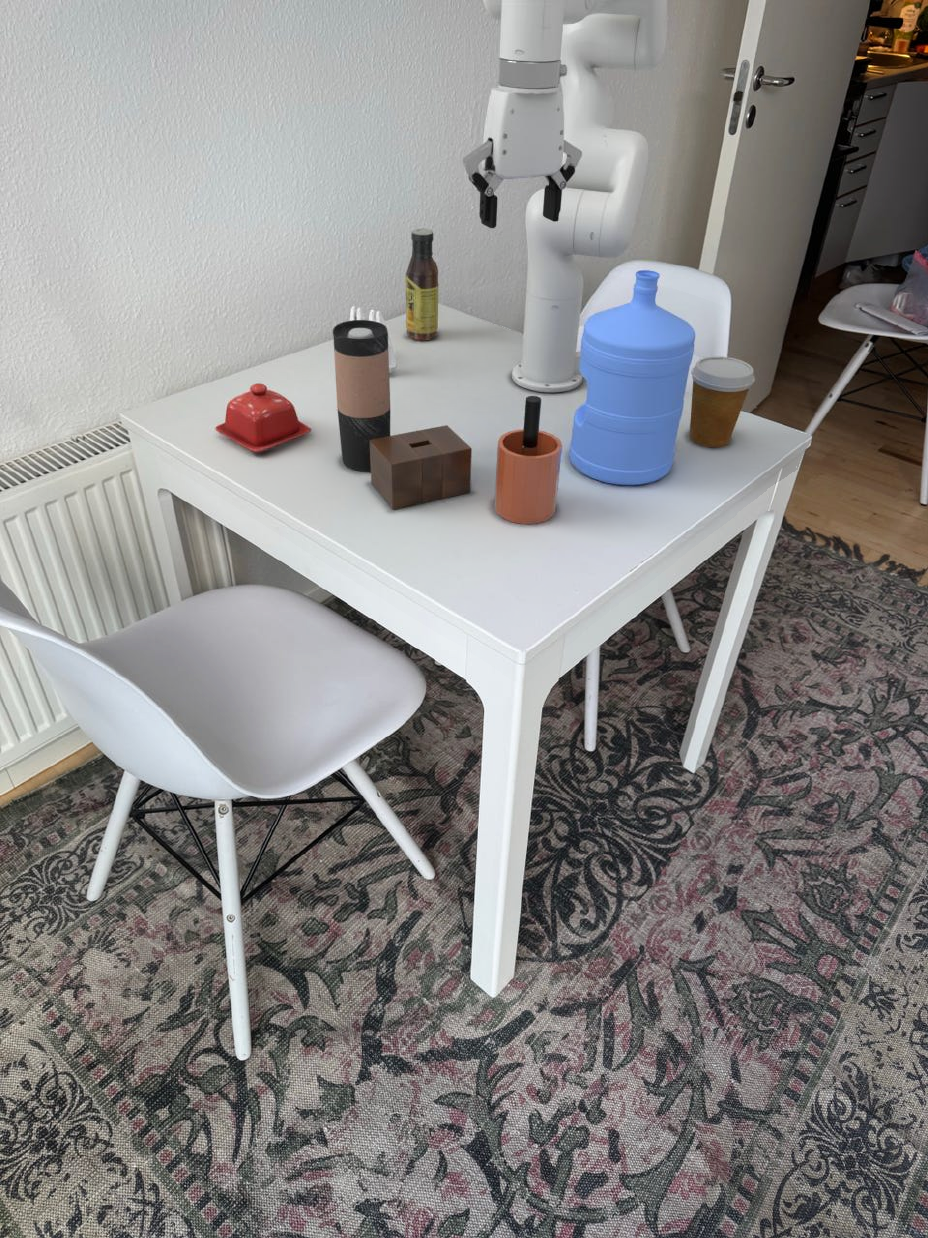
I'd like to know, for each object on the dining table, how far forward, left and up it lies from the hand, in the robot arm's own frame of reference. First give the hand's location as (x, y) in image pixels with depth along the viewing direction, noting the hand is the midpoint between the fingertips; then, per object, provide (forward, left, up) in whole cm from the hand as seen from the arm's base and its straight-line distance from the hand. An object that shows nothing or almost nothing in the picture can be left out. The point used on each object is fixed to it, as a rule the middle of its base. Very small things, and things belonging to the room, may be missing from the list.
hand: (519, 222), depth 121 cm
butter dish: (+35, -16, -32) cm, 50 cm away
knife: (+8, +20, -32) cm, 38 cm away
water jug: (-12, +14, -32) cm, 37 cm away
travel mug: (+23, -2, -32) cm, 40 cm away
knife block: (+19, +9, -32) cm, 39 cm away
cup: (+8, +20, -32) cm, 39 cm away
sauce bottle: (-6, -46, -32) cm, 57 cm away
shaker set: (+9, -35, -32) cm, 49 cm away
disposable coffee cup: (-30, +13, -32) cm, 46 cm away
